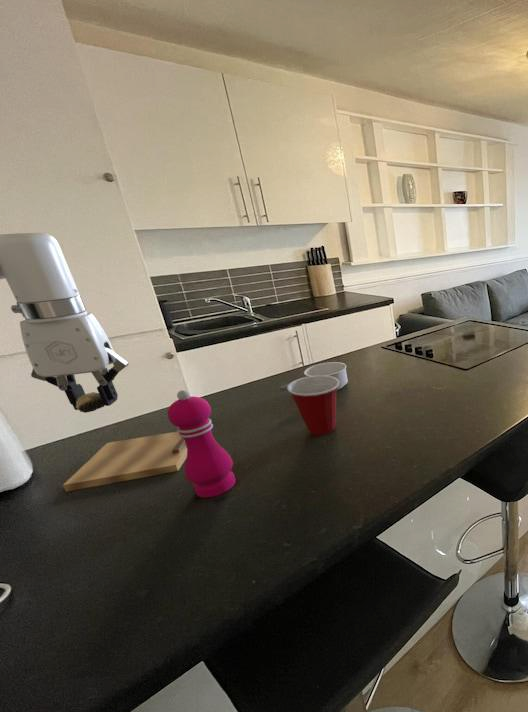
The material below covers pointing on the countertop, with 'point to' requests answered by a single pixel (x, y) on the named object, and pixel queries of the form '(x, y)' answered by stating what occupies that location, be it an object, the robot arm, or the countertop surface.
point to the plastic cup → (316, 402)
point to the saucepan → (327, 372)
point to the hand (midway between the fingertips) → (96, 403)
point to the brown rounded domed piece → (89, 402)
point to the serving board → (131, 461)
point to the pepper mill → (201, 446)
